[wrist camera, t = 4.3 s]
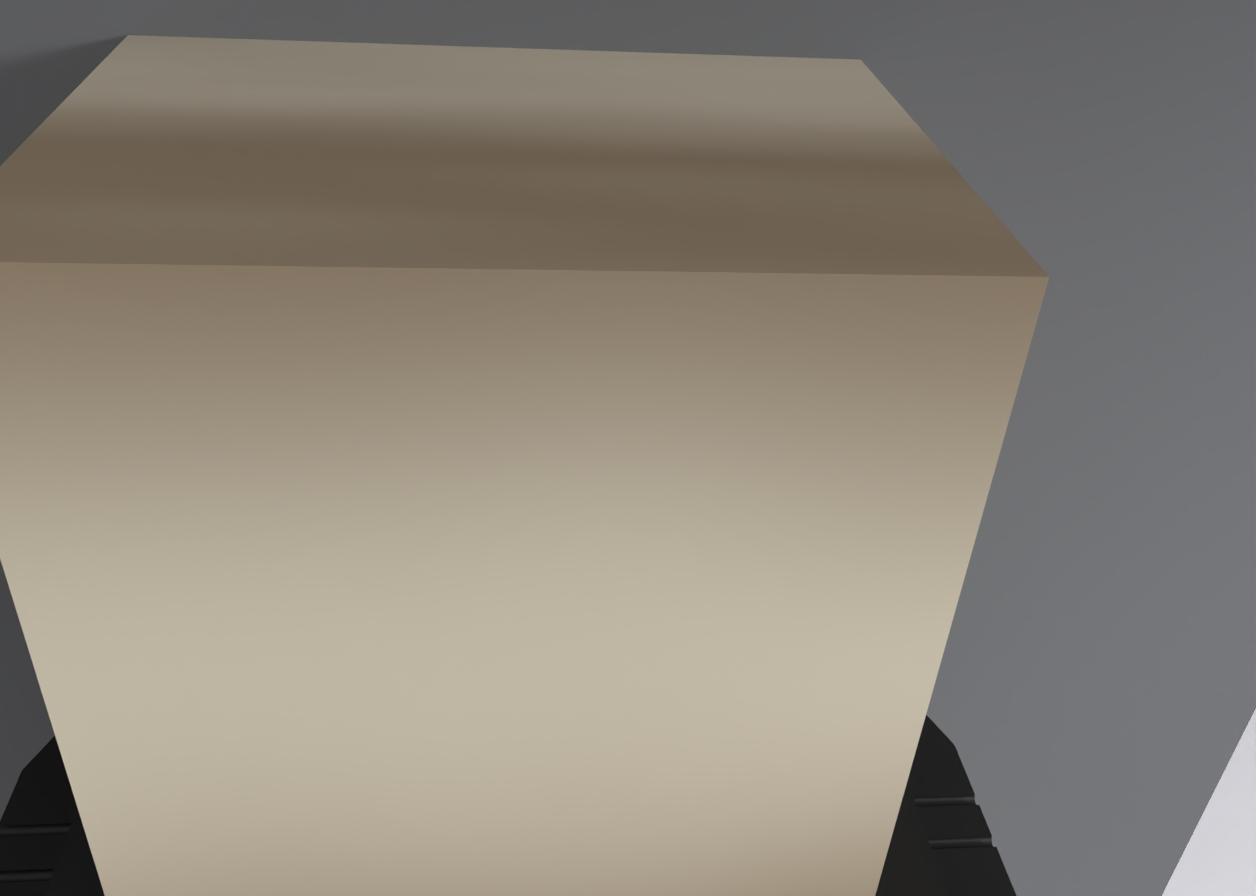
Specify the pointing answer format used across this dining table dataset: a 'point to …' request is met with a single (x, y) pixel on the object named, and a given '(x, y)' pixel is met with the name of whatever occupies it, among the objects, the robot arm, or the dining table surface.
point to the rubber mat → (1049, 386)
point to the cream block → (493, 463)
